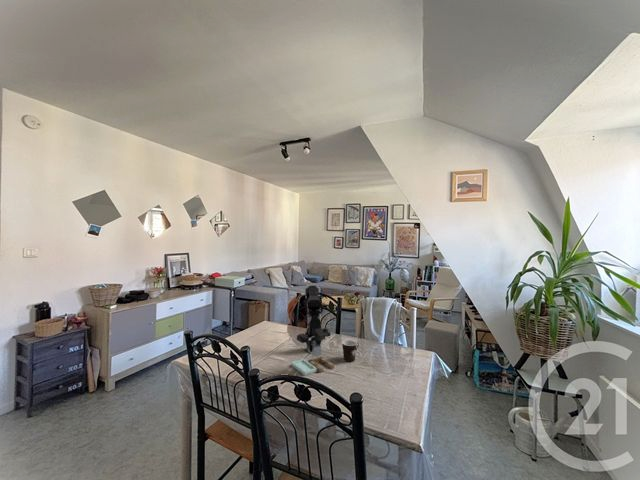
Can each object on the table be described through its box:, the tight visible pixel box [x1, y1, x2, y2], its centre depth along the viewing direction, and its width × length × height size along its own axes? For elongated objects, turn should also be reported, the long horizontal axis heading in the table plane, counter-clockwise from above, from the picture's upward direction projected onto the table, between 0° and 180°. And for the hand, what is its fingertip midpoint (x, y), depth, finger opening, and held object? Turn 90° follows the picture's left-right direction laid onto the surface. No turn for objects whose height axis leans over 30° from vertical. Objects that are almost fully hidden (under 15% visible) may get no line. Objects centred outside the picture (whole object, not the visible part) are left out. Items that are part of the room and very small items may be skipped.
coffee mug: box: [341, 339, 360, 363], centre depth 165 cm, size 12×9×10 cm
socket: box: [307, 356, 335, 373], centre depth 157 cm, size 12×9×2 cm
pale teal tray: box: [291, 358, 318, 377], centre depth 153 cm, size 14×8×2 cm, turn 34°
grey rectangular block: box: [308, 341, 322, 358], centre depth 151 cm, size 8×4×5 cm, turn 27°
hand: (313, 350), depth 151 cm, fingers closed on grey rectangular block, 4 cm apart
